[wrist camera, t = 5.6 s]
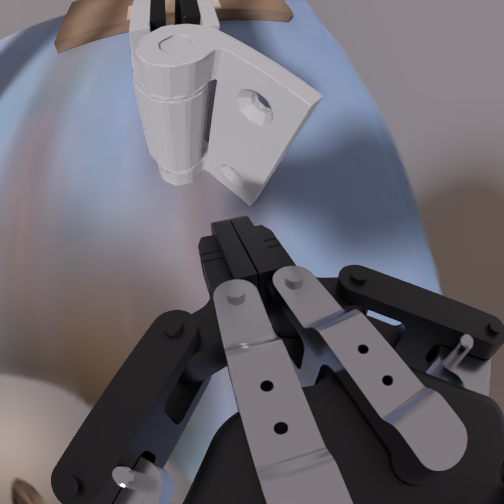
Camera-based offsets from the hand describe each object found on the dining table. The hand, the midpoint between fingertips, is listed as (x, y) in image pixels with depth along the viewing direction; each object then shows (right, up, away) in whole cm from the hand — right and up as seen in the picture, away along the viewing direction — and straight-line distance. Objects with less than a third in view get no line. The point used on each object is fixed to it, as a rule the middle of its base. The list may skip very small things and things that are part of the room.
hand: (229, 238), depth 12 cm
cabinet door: (-8, +26, +8) cm, 28 cm away
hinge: (-3, +8, +6) cm, 10 cm away
